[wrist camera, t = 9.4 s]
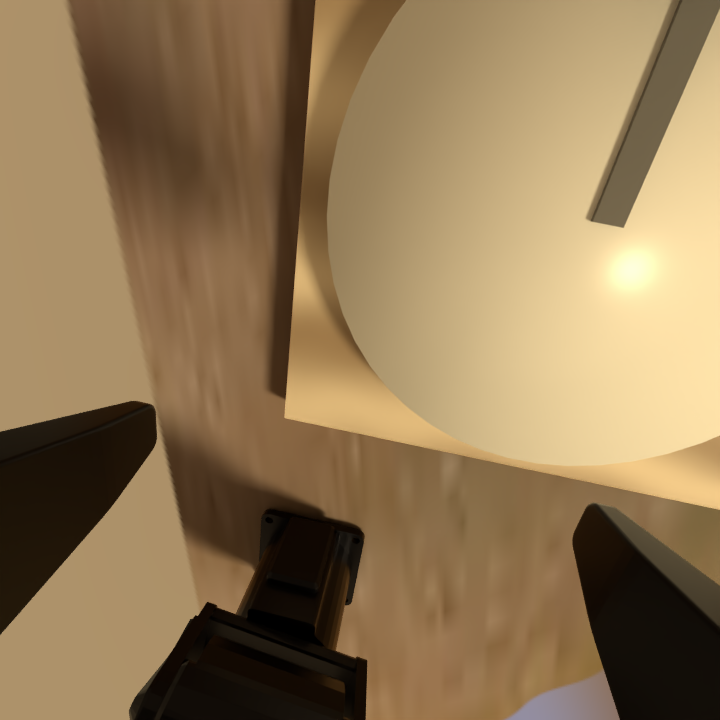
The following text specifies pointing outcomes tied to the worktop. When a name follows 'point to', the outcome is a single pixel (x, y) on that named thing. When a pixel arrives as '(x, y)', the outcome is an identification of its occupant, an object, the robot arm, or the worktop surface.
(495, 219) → the dial
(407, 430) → the base plate
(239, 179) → the worktop surface
